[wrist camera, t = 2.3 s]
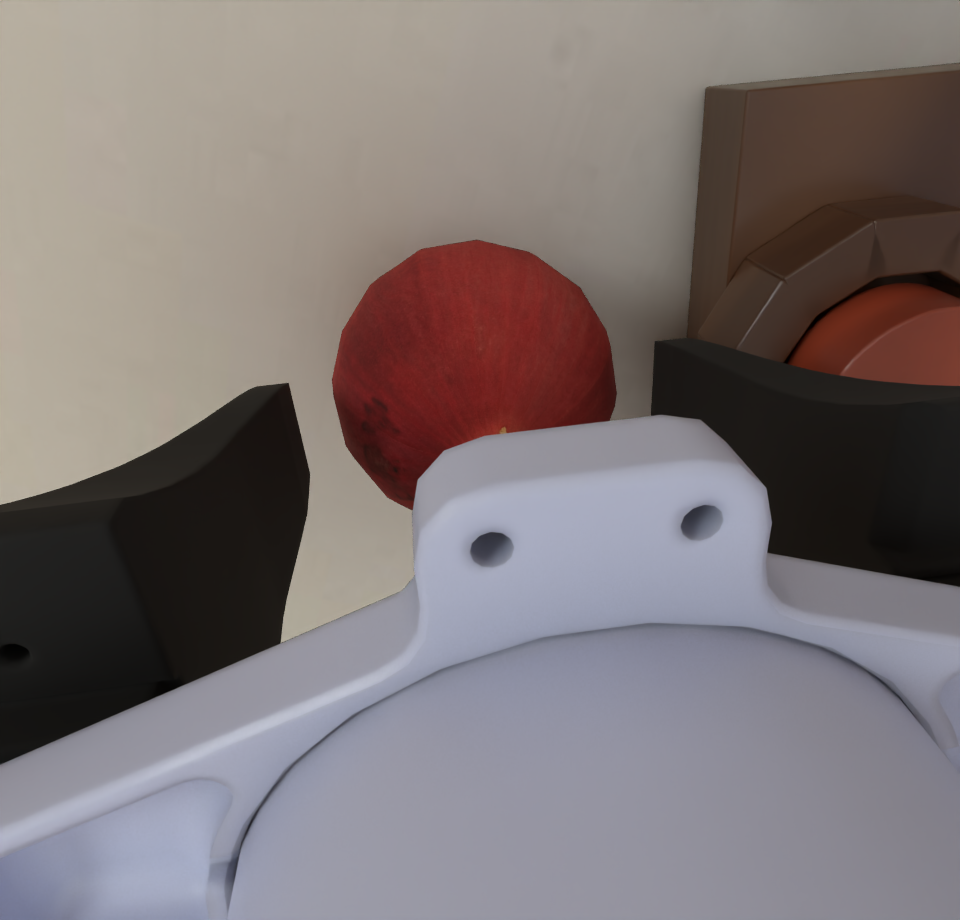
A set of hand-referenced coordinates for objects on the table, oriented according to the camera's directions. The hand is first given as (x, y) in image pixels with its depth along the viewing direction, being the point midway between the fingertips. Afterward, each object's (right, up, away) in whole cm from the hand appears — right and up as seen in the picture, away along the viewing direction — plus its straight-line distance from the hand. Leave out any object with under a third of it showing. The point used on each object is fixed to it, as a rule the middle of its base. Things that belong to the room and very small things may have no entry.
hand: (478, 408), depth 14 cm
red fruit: (-1, +3, +4) cm, 5 cm away
